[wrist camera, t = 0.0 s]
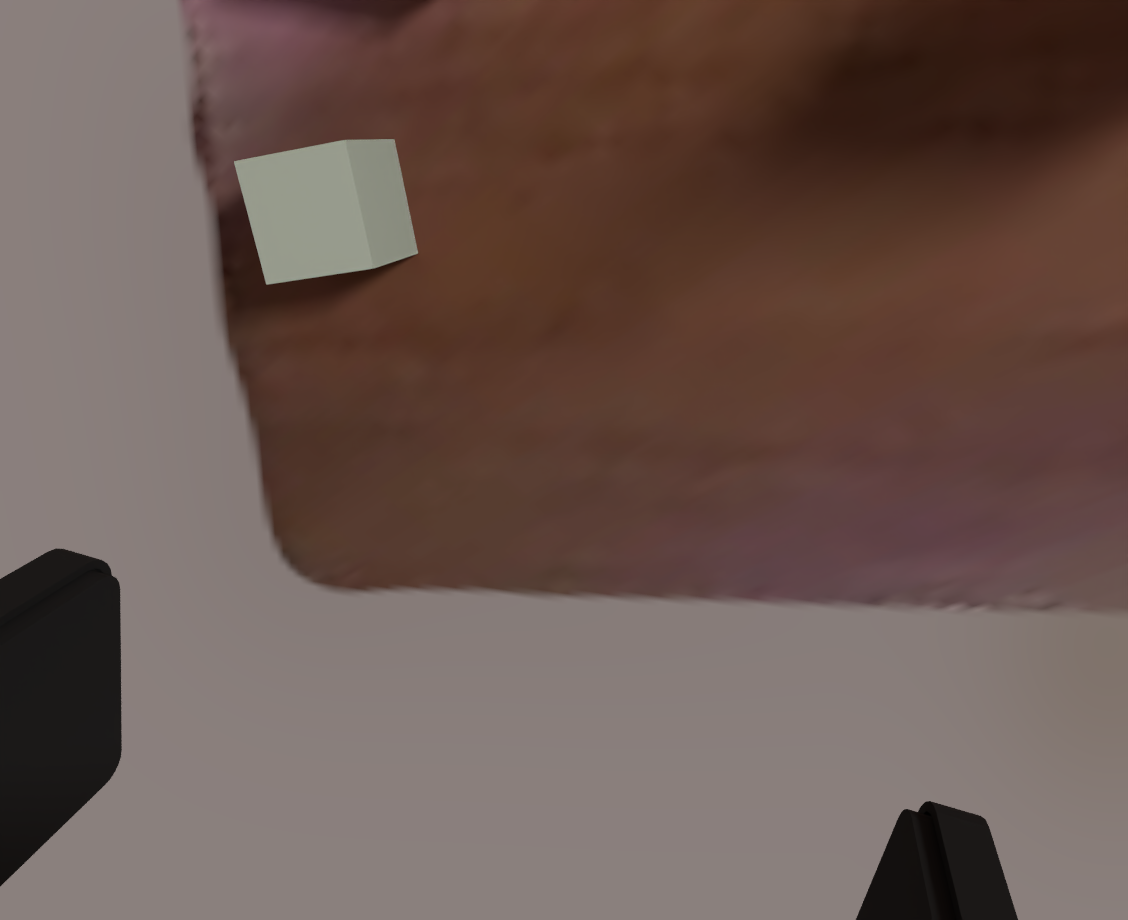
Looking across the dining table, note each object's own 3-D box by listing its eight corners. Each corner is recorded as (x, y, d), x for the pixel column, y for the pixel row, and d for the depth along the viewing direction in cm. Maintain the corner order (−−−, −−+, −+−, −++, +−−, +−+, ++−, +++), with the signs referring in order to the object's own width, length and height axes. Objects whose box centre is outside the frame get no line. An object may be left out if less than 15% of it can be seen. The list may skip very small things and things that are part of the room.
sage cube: (294, 158, 41) (234, 161, 36) (394, 139, 39) (344, 139, 35) (321, 268, 42) (266, 284, 38) (418, 253, 41) (373, 268, 36)
